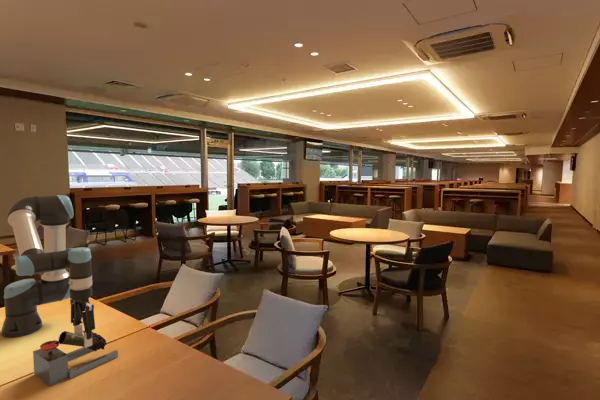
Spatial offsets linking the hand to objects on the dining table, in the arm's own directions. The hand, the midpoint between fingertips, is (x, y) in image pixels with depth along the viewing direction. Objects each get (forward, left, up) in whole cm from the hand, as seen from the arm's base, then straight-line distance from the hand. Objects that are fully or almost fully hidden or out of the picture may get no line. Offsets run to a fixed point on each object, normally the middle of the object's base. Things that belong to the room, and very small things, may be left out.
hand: (83, 343), depth 136 cm
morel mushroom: (-1, -1, -1) cm, 2 cm away
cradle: (0, -2, -8) cm, 8 cm away
